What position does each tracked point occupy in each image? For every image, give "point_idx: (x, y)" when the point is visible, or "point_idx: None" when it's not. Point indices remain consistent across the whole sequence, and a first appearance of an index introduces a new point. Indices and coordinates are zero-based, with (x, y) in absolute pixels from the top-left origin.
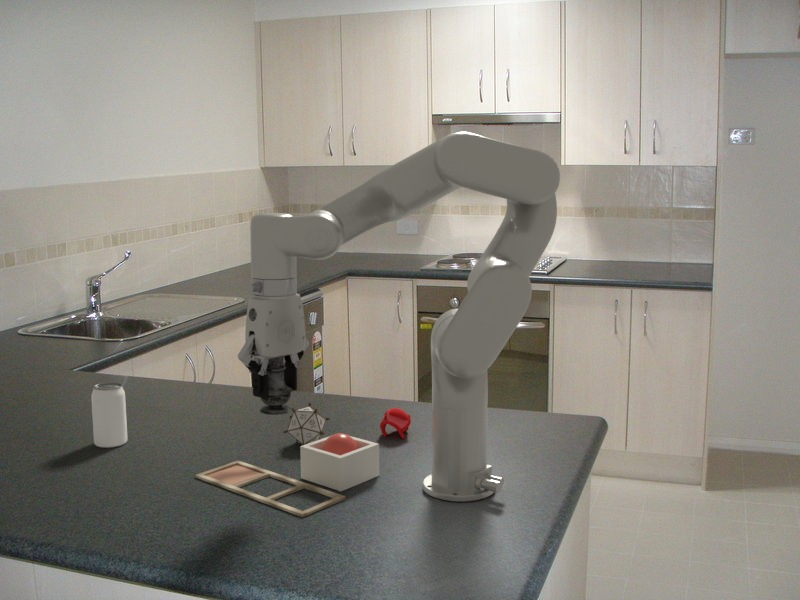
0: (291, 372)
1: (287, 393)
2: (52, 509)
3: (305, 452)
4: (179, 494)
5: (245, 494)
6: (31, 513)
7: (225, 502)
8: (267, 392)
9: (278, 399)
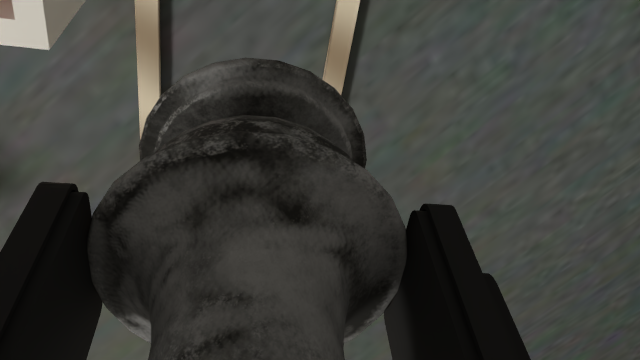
0: (29, 354)
1: (260, 133)
2: (605, 325)
3: (52, 4)
4: (427, 203)
5: (349, 49)
6: (634, 336)
7: (421, 64)
8: (447, 232)
9: (335, 146)
